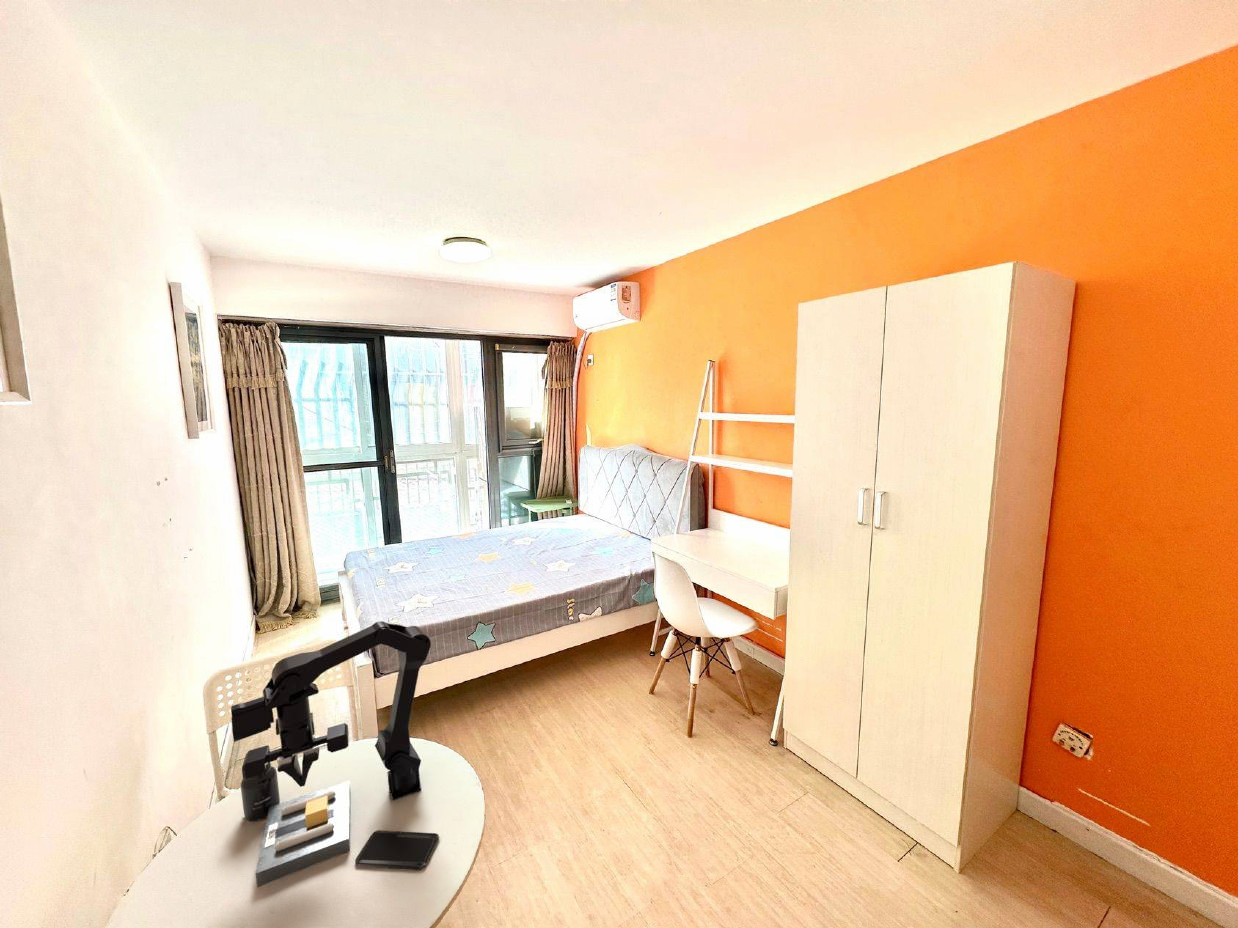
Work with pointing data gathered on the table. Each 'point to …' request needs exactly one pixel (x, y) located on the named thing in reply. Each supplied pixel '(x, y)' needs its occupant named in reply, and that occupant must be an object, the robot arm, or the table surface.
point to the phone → (397, 850)
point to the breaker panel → (294, 823)
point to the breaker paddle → (317, 811)
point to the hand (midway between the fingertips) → (302, 784)
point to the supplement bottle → (260, 794)
